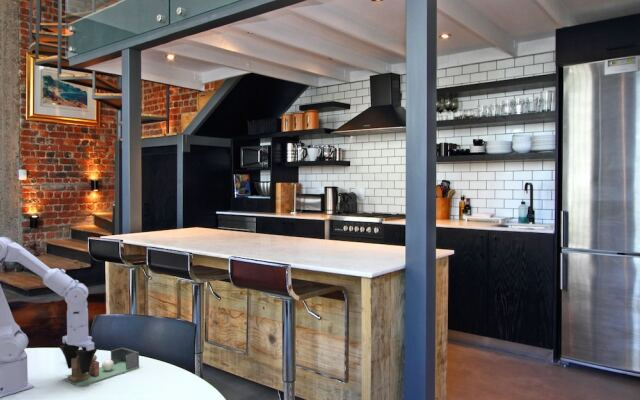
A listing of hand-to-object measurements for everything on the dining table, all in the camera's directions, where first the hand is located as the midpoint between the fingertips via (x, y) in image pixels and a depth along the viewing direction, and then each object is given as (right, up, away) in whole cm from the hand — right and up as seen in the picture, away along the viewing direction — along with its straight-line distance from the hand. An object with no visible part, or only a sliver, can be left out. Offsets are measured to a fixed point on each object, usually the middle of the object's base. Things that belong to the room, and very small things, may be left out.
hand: (78, 370), depth 153 cm
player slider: (+1, -3, +1) cm, 3 cm away
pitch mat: (+4, -3, +6) cm, 8 cm away
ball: (+6, -1, +8) cm, 10 cm away
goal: (+9, -3, +12) cm, 15 cm away
